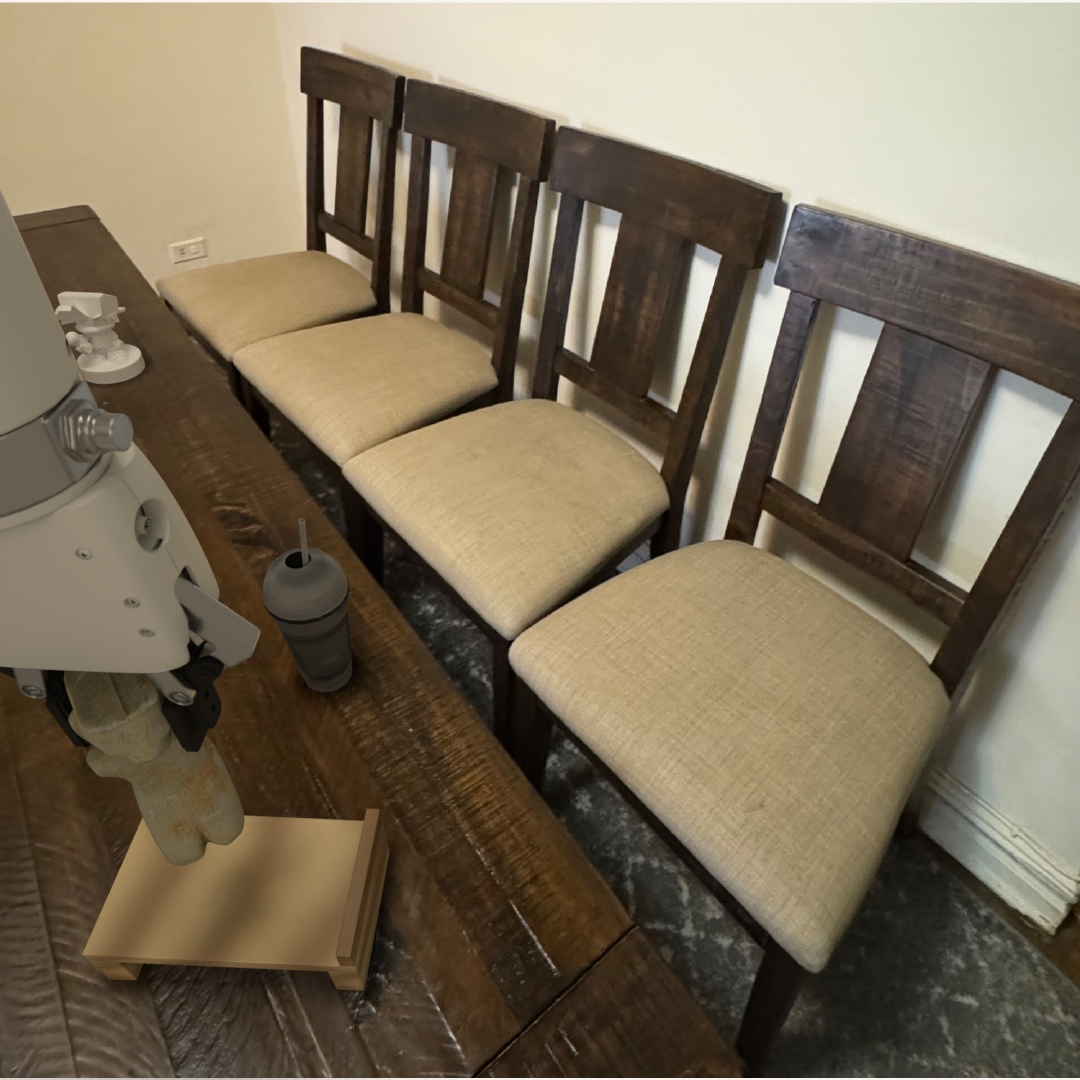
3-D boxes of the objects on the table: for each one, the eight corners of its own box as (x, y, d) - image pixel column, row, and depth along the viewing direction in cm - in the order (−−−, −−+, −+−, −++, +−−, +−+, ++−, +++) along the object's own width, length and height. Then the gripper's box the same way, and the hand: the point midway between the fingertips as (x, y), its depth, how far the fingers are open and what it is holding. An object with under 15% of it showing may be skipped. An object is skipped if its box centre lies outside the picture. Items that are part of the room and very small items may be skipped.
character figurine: (70, 382, 108) (34, 304, 100) (100, 350, 115) (69, 275, 107) (131, 385, 108) (100, 307, 100) (157, 352, 115) (130, 277, 107)
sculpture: (162, 889, 42) (39, 751, 32) (139, 788, 46) (24, 636, 36) (264, 837, 44) (181, 692, 34) (233, 745, 49) (151, 591, 38)
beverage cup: (306, 639, 75) (261, 484, 61) (376, 648, 74) (346, 494, 60) (277, 699, 69) (221, 544, 56) (352, 709, 69) (314, 555, 55)
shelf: (108, 979, 52) (68, 944, 47) (165, 840, 59) (136, 797, 55) (364, 991, 52) (350, 956, 47) (389, 850, 59) (379, 808, 55)
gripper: (254, 391, 29) (330, 674, 41) (-179, 372, 29) (26, 660, 41) (181, 518, 24) (293, 799, 36) (-354, 494, 24) (-57, 784, 36)
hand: (149, 723), depth 39 cm, fingers closed on sculpture, 4 cm apart
